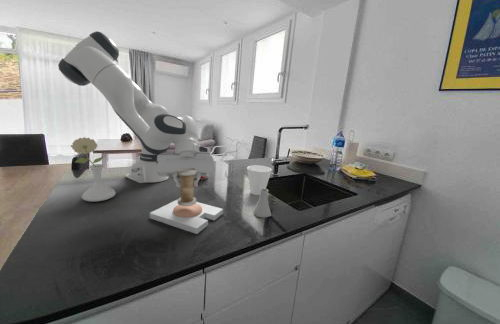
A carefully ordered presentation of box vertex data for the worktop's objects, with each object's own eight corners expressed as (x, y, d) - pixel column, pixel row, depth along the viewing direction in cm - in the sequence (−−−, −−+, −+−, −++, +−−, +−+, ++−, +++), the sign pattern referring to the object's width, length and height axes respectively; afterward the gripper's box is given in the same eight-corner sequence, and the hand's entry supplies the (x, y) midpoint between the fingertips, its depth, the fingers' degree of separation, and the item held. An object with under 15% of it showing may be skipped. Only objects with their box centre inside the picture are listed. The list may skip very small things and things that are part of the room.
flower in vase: (118, 192, 96) (113, 135, 90) (113, 202, 85) (108, 139, 80) (82, 194, 90) (74, 135, 85) (72, 206, 80) (63, 139, 75)
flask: (250, 210, 87) (252, 187, 84) (266, 209, 89) (268, 186, 87) (257, 219, 80) (259, 194, 78) (274, 217, 83) (277, 192, 80)
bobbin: (173, 203, 76) (173, 170, 73) (185, 197, 82) (185, 166, 79) (188, 207, 74) (188, 173, 71) (199, 201, 79) (200, 169, 77)
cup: (249, 197, 99) (251, 171, 96) (242, 188, 110) (244, 165, 107) (273, 196, 103) (275, 171, 100) (264, 187, 114) (266, 165, 111)
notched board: (149, 218, 76) (149, 210, 75) (181, 202, 90) (181, 195, 89) (196, 234, 68) (196, 226, 67) (222, 213, 82) (223, 207, 82)
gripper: (156, 147, 77) (153, 182, 70) (214, 148, 83) (217, 181, 76) (158, 157, 82) (155, 190, 75) (212, 157, 88) (215, 188, 81)
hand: (187, 186), depth 76 cm, fingers closed on bobbin, 4 cm apart
